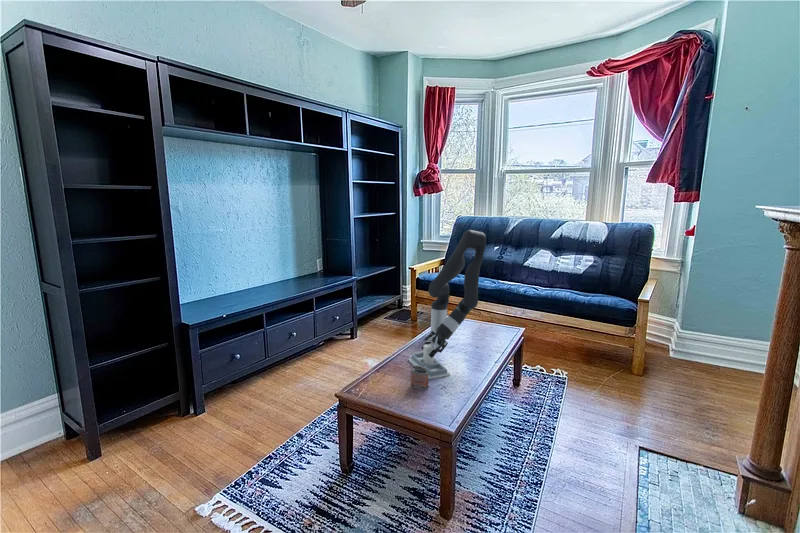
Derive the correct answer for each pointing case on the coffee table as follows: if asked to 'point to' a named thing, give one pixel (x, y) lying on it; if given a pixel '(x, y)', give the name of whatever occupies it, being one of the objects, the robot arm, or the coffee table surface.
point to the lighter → (419, 377)
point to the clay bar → (427, 354)
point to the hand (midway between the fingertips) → (426, 353)
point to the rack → (429, 366)
